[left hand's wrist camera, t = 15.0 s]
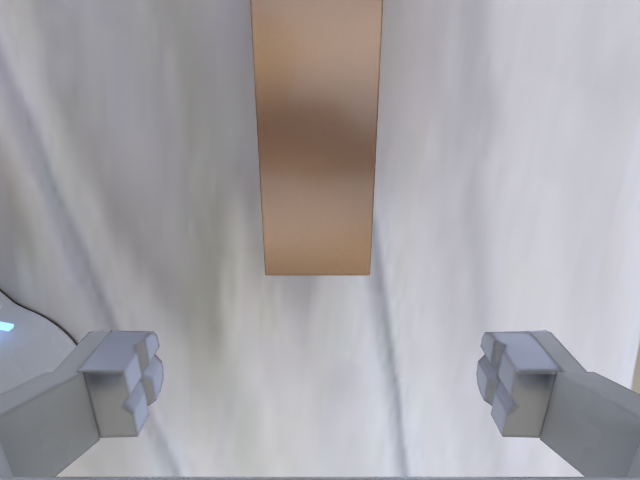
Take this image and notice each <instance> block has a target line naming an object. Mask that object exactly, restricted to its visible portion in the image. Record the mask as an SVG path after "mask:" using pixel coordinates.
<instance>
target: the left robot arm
mask: <svg viewBox="0 0 640 480" xmlns="http://www.w3.org/2000/svg"><path fill="white" fill-rule="evenodd" d="M158 348H159V342H158V337H157V335H156V334H155V333H154V332H149V331H92V332H89V333H88V334H87V335H86V336H85V337H84V338H83V339H82V341H81V342H80V343H79V344H78V345H77V346H76V344H75V343H74V342H73V341H72V339H71V338H70V337H69V336H68V335H67V334H66V333H65V332H64V331H63V330H61V329H60V328H59V327H58V326H56V325H55V324H54V323H52V322H51V321H49V320H47V319H46V318H44V317H42V316H40V315H38V314H36V313H34V312H32V311H30V310H27V309H25V308H23V307H21V306H19V305H17V304H15V303H13V302H12V301H11V300H10V299H9V298H8V297H7V296H5V295H4V294H3V293H2V292H1V291H0V480H640V394H638V393H636V392H634V391H632V390H630V389H628V388H626V387H624V386H622V385H620V384H617V383H615V382H613V381H611V380H609V379H607V378H605V377H603V376H601V375H599V374H597V373H595V372H587V371H586V370H585V369H584V368H583V367H582V366H581V365H580V363H579V362H578V361H577V360H576V359H575V358H574V357H573V356H572V355H571V354H570V353H569V351H568V350H567V349H566V348H565V347H564V346H563V345H562V344H561V343H560V342H559V341H558V339H557V338H556V337H555V336H554V335H553V334H552V333H551V332H549V331H546V330H543V331H521V332H485V333H484V335H483V337H482V342H481V348H482V350H483V351H484V353H485V355H484V356H483V357H482V358H481V359H480V360H479V361H478V366H477V383H478V387H479V391H480V393H481V395H482V397H483V400H484V401H486V402H487V403H489V404H490V405H491V406H492V411H491V415H492V417H493V419H494V421H495V423H496V425H497V427H498V429H499V431H500V433H501V435H502V437H533V438H540V440H541V441H543V442H544V443H545V444H546V445H547V446H549V447H550V448H551V449H552V450H553V451H555V452H556V453H557V454H558V455H559V456H561V457H562V458H563V459H564V460H566V461H567V462H568V463H569V464H570V465H572V466H573V467H574V468H575V469H576V470H578V471H579V472H580V473H581V474H582V475H584V476H585V477H55V476H56V475H58V474H59V473H60V472H61V471H63V470H64V469H65V468H66V467H67V466H69V465H70V464H71V463H72V462H73V461H75V460H76V459H77V458H78V457H79V456H81V455H82V454H83V453H84V452H86V451H87V450H88V449H89V448H90V447H92V446H93V445H94V444H95V443H96V442H98V441H99V440H100V438H106V437H138V435H139V433H140V431H141V429H142V427H143V425H144V423H145V421H146V419H147V417H148V415H149V411H148V406H149V405H150V404H151V403H153V402H154V401H156V400H157V397H158V395H159V393H160V391H161V387H162V382H163V365H162V361H161V360H160V359H159V358H158V357H157V356H156V355H155V353H156V351H157V350H158Z"/></svg>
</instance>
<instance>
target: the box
mask: <svg viewBox="0 0 640 480" xmlns="http://www.w3.org/2000/svg"><path fill="white" fill-rule="evenodd" d="M250 4H251V22H252V41H253V59H254V77H255V96H256V114H257V132H258V151H259V169H260V187H261V206H262V224H263V242H264V261H265V275H370V265H371V244H372V222H373V201H374V180H375V159H376V138H377V117H378V96H379V74H380V53H381V32H382V11H383V0H250Z"/></svg>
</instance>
